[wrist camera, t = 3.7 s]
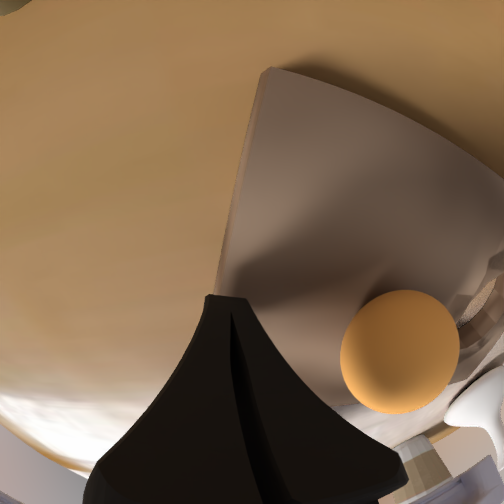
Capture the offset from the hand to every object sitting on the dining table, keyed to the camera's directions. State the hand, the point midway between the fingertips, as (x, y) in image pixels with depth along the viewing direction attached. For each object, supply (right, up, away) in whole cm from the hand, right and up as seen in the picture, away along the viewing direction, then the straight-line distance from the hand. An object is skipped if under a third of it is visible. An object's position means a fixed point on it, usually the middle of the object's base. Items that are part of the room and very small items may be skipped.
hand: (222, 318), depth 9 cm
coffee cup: (+26, -29, +23) cm, 45 cm away
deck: (+11, 0, +5) cm, 12 cm away
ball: (+7, -2, 0) cm, 7 cm away
